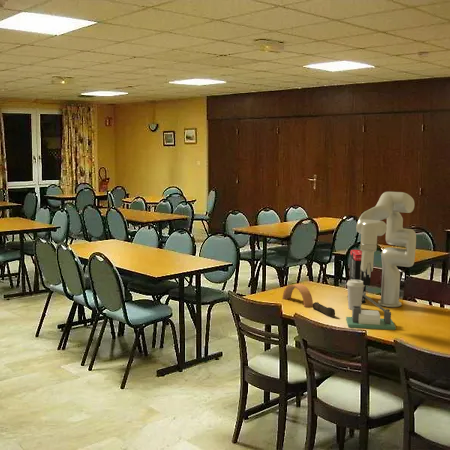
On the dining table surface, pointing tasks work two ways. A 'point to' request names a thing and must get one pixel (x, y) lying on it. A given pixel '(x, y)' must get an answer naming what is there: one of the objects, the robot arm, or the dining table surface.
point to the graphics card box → (356, 268)
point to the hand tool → (324, 309)
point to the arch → (302, 289)
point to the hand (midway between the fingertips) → (366, 284)
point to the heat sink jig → (369, 319)
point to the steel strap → (373, 302)
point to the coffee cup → (354, 293)
